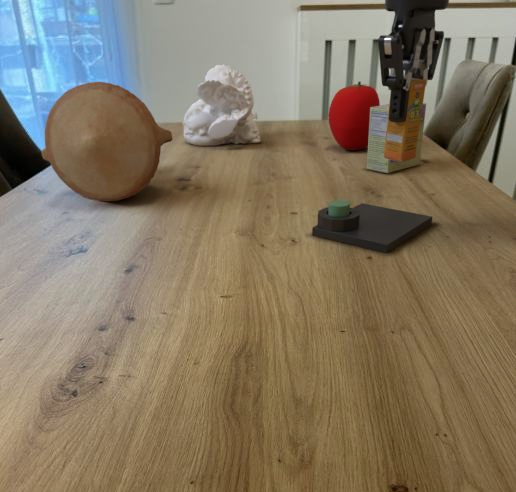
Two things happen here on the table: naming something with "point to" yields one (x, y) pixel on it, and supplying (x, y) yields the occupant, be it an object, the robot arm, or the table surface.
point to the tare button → (339, 208)
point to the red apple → (352, 115)
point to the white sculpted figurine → (222, 110)
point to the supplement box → (406, 126)
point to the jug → (103, 141)
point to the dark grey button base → (371, 226)
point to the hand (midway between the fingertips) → (404, 118)
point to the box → (378, 142)
